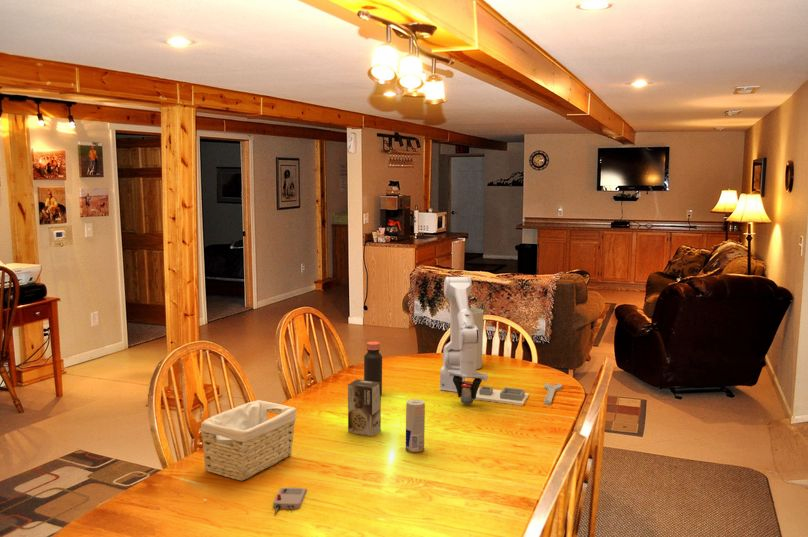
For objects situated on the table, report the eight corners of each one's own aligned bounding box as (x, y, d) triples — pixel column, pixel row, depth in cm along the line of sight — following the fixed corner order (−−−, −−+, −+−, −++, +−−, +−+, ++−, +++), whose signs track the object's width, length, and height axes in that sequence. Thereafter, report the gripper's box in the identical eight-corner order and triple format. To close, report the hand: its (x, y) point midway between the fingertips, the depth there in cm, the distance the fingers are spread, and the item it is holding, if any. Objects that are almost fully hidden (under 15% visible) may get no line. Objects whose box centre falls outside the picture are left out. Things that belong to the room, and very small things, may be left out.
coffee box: (381, 430, 223) (381, 382, 221) (372, 437, 217) (372, 387, 215) (356, 426, 226) (357, 378, 224) (347, 432, 221) (347, 383, 219)
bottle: (385, 395, 258) (385, 343, 256) (369, 398, 255) (370, 346, 252) (375, 391, 264) (376, 340, 261) (360, 394, 260) (360, 342, 258)
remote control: (308, 488, 181) (308, 478, 181) (296, 517, 166) (296, 506, 165) (283, 488, 181) (282, 477, 181) (269, 517, 166) (269, 505, 165)
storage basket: (256, 444, 210) (255, 397, 208) (299, 455, 202) (299, 406, 201) (198, 473, 189) (197, 421, 187) (244, 486, 182) (243, 432, 180)
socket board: (469, 399, 256) (469, 391, 255) (476, 390, 267) (477, 382, 267) (522, 405, 249) (523, 397, 249) (528, 396, 260) (528, 388, 260)
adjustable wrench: (550, 407, 250) (550, 402, 250) (533, 404, 252) (533, 400, 252) (562, 387, 273) (563, 383, 273) (546, 385, 275) (546, 381, 275)
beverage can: (426, 447, 209) (427, 399, 207) (420, 454, 204) (421, 405, 202) (409, 444, 211) (409, 397, 209) (403, 451, 206) (403, 403, 204)
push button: (458, 403, 247) (458, 384, 246) (462, 398, 252) (462, 380, 251) (472, 404, 246) (472, 385, 245) (475, 400, 250) (475, 381, 249)
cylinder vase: (451, 369, 295) (453, 312, 292) (454, 362, 307) (455, 307, 304) (481, 371, 293) (482, 313, 290) (482, 363, 305) (484, 308, 302)
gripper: (445, 361, 246) (444, 398, 247) (485, 365, 241) (484, 403, 242) (450, 356, 252) (450, 392, 254) (489, 360, 247) (488, 397, 249)
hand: (467, 397), depth 249 cm, fingers closed on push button, 5 cm apart
